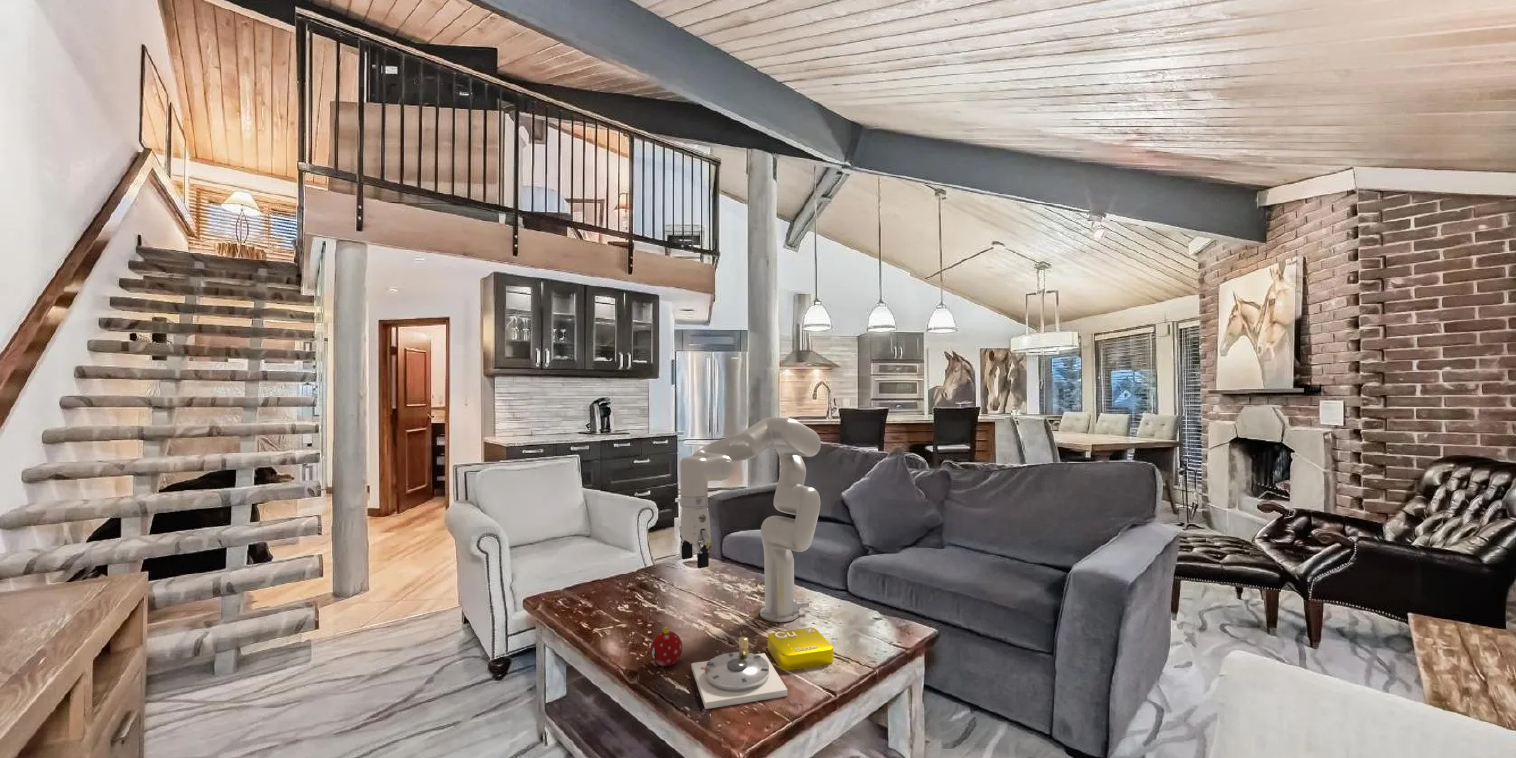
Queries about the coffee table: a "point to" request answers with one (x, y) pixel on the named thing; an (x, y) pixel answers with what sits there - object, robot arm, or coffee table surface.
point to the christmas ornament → (666, 648)
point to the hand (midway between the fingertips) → (694, 562)
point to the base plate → (724, 698)
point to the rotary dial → (737, 669)
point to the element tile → (800, 648)
